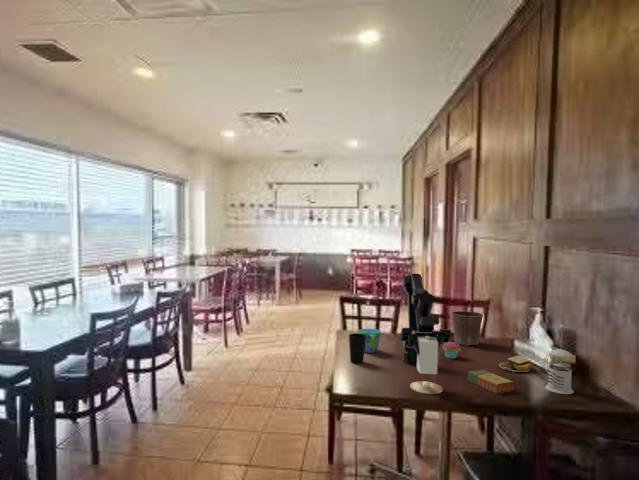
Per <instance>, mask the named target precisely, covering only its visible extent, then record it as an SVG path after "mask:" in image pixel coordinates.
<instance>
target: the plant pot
mask: <svg viewBox="0 0 639 480" xmlns="http://www.w3.org/2000/svg"><path fill="white" fill-rule="evenodd" d="M451 316H452V321H453V332H454V335H453V336H454V343H457V344H459V345H461V346H467V347H470V346H469V345H476V346H479V343H480V336H481V335H480V334H481V326H482V323H483V317H484V314H483V313H480V312H476V311H470V310H469V311H468V310H458V311H457V310H455V311H452V312H451Z"/></svg>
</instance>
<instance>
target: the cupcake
mask: <svg viewBox="0 0 639 480" xmlns="http://www.w3.org/2000/svg"><path fill="white" fill-rule="evenodd" d="M441 345H442V346H441V347H442V350H443V351H444V354H445V357H446V358H448V359H456V358H457V356H458V354H459V352H461V350H462V345H461V344H457V343H455V341H451V340H450V341H449V342H448V343H444V342H443V344H441Z"/></svg>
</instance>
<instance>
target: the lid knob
mask: <svg viewBox="0 0 639 480" xmlns="http://www.w3.org/2000/svg"><path fill="white" fill-rule="evenodd" d="M423 387H424V388H430V381H424V382H423Z"/></svg>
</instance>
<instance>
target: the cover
mask: <svg viewBox="0 0 639 480" xmlns="http://www.w3.org/2000/svg"><path fill="white" fill-rule="evenodd" d="M418 346H419V355H418V354H417V364H416V369H417V371H418V373H419V374H423V375H424V374H425V375H426V374H427V375H438V358H439V357H438V355H439V351H438V341H437V340H436V338H430V336H425V337H418Z"/></svg>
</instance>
